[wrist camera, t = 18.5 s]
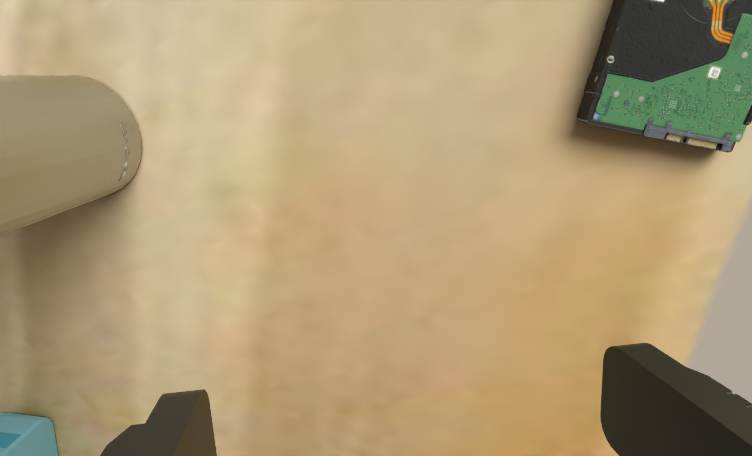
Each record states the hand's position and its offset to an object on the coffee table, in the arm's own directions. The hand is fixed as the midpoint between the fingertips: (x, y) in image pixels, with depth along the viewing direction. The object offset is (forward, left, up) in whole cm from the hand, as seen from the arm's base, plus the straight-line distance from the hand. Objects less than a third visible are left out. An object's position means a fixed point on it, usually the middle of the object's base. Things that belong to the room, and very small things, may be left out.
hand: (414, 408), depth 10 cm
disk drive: (+15, +12, -28) cm, 35 cm away
